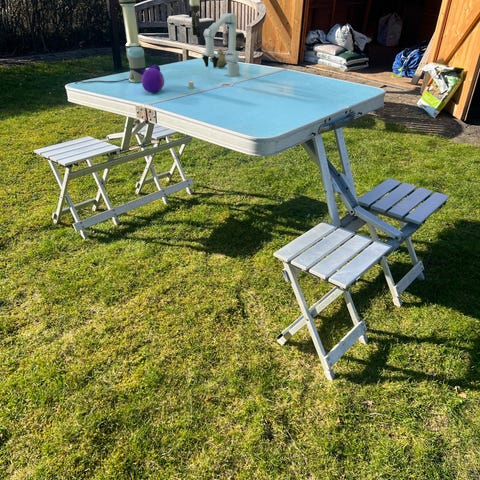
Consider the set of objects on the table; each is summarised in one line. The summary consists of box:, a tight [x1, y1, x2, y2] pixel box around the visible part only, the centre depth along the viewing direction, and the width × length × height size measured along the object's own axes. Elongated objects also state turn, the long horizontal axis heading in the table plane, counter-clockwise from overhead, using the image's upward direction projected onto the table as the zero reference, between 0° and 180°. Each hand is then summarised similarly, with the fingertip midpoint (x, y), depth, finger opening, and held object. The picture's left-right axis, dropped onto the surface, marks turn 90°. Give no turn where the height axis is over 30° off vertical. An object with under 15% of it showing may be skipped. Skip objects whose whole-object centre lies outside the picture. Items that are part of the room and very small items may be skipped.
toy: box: [134, 64, 165, 94], centre depth 304 cm, size 16×18×27 cm
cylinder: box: [187, 80, 195, 89], centre depth 315 cm, size 4×4×4 cm
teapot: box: [209, 48, 228, 69], centre depth 380 cm, size 21×12×15 cm, turn 120°
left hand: (196, 36), depth 348 cm, fingers open, 13 cm apart
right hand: (210, 67), depth 329 cm, fingers open, 7 cm apart
